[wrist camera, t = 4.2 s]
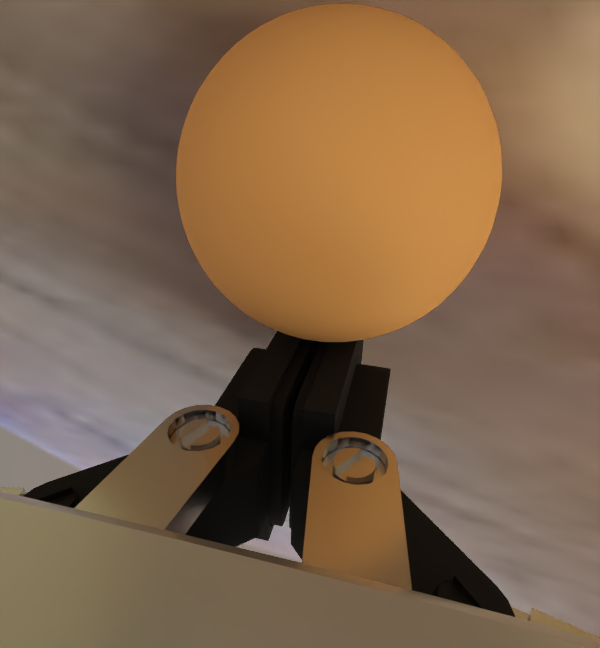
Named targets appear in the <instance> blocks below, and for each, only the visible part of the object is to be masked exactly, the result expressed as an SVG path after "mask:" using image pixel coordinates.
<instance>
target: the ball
mask: <svg viewBox="0 0 600 648" xmlns="http://www.w3.org/2000/svg"><path fill="white" fill-rule="evenodd" d="M501 184H502V159H501V144H500V139H499V134H498V129H497V124H496V121H495V119H494V116H493V113H492V110H491V108H490V105H489V102H488V100H487V97H486V94H485V93H484V91H483V89H482V87H481V85H480V84H479V82H478V80H477V78H476V77H475V75H474V74H473V73H472V71H471V70H470V69H469V67H468V66H467V65H466V64H465V62H464V61H463V60H462V58H461V57H460V56H459V55H458V53H457V52H456V51H455V50H453V49H452V48H451V47H450V46H449V45H448V44H447V43H446V42H445V41H444V40H443V39H441V38H440V37H438V36H437V35H435V34H434V33H432V32H431V31H430V30H428V29H427V28H425V27H424V26H422V25H421V24H419V23H417V22H415V21H414V20H412V19H410V18H408V17H406V16H404V15H401V14H398V13H395V12H392V11H389V10H386V9H381V8H376V7H371V6H366V5H361V4H349V3H337V4H323V5H317V6H310V7H307V8H303V9H299V10H295V11H292V12H290V13H287V14H284V15H282V16H279V17H277V18H275V19H273V20H271V21H269V22H267V23H265V24H263V25H261V26H260V27H258V28H257V29H255V30H253V31H252V32H250V33H249V34H247V35H246V36H245V37H244V38H242V39H241V40H240V41H239V42H237V43H236V44H235V45H234V46H233V47H232V48H231V49H230V50H229V51H228V52H227V53H226V54H225V55H224V56H223V57H222V58H221V59H220V61H219V62H218V63H217V64H216V65H215V67H214V68H213V69H212V70H211V72H210V73H209V74H208V76H207V77H206V79H205V81H204V82H203V84H202V85H201V87H200V88H199V90H198V92H197V94H196V96H195V98H194V100H193V102H192V104H191V106H190V109H189V111H188V114H187V117H186V120H185V123H184V126H183V129H182V133H181V138H180V142H179V146H178V154H177V164H176V186H177V199H178V205H179V211H180V215H181V219H182V223H183V226H184V229H185V233H186V236H187V239H188V242H189V244H190V246H191V248H192V250H193V252H194V254H195V256H196V258H197V260H198V261H199V263H200V265H201V267H202V268H203V270H204V271H205V273H206V274H207V276H208V277H209V278H210V280H211V281H212V283H213V284H214V285H215V286H216V287H217V288H218V289H219V290H220V291H221V292H222V294H223V295H224V296H225V297H226V298H227V299H228V300H229V301H230V302H232V303H233V304H234V305H235V306H236V307H238V308H239V309H240V310H241V311H243V312H244V313H245V314H247V315H248V316H250V317H251V318H253V319H255V320H256V321H258V322H260V323H261V324H263V325H266V326H268V327H270V328H272V329H275V330H277V331H279V332H282V333H284V334H287V335H290V336H294V337H298V338H301V339H305V340H313V341H320V342H349V341H357V340H365V339H369V338H373V337H377V336H381V335H384V334H387V333H390V332H392V331H395V330H397V329H400V328H402V327H405V326H407V325H408V324H410V323H412V322H414V321H416V320H417V319H419V318H421V317H423V316H424V315H426V314H427V313H428V312H430V311H431V310H432V309H434V308H435V307H437V306H438V305H439V304H441V303H442V302H443V301H444V300H445V299H446V298H447V297H448V296H449V295H450V294H451V293H452V292H453V291H454V290H455V289H456V288H457V287H458V286H459V284H460V283H461V282H462V281H463V279H464V278H465V277H466V276H467V274H468V273H469V272H470V270H471V269H472V267H473V266H474V264H475V262H476V260H477V259H478V257H479V255H480V254H481V252H482V250H483V249H484V247H485V244H486V242H487V240H488V237H489V235H490V232H491V230H492V228H493V224H494V220H495V216H496V212H497V208H498V204H499V200H500V194H501Z"/></svg>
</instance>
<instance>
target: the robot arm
mask: <svg viewBox="0 0 600 648" xmlns="http://www.w3.org/2000/svg"><path fill="white" fill-rule="evenodd" d="M362 350H363V340H357V341H349V342H320V341H313V340H305V339H301V338H298V337H294V336H290V335H287V334H284V333H282V332H279V331H277V333H276V334H275V336H274V338H273V339H272V341H271V343H270V344H269V346H268V348H267V349H259V348H253V349H252V350H251V351H250V353H249V354H248V356H247V357H246V359H245V360H244V362H243V363H242V365H241V366H240V368H239V369H238V371H237V373H236V374H235V376H234V377H233V379H232V380H231V382H230V383H229V385H228V386H227V388H226V389H225V391H224V393H223V394H222V396H221V397H220V399H219V400H218V402H217V403H216V405H215V406H212V405H196V406H192V407H187V408H184V409H182V410H179V411H177V412H175V413H173V414H172V415H171V416H169V417H168V418H167V419H166V420H165V421H163V422H162V423H161V424H160V425H159V426H158V427H157V428H156V429H155V430H154V431H153V432H152V433H151V434H150V435H149V436H148V437H147V438H146V439H145V440H144V441H143V442H142V443H141V444H140V445H139V446H138V447H137V448H136V449H135V450H134V451H133V452H132V453H131V454H129V455H126V456H123V457H120V458H117V459H114V460H111V461H109V462H106V463H103V464H100V465H97V466H94V467H91V468H88V469H85V470H82V471H79V472H76V473H73V474H71V475H68V476H65V477H62V478H59V479H56V480H53V481H50V482H47V483H45V484H43V485H40V486H39V487H36V488H34V489H33V490H31V491H30V492H28V493H27V494H26V492H25V489H24V487H0V648H600V637H597V636H595V635H593V634H591V633H588V632H586V631H584V630H581V629H579V628H577V627H575V626H572V625H570V624H568V623H566V622H563V621H561V620H559V619H557V618H554V617H552V616H550V615H547V614H545V613H543V612H541V611H538V610H536V609H534V608H532V609H531V611H530V614H526V613H524V612H522V611H520V610H518V609H515V608H513V607H511V606H510V604H509V601H508V600H507V598H506V597H505V596H504V595H503V593H502V592H501V591H500V590H499V588H498V587H497V586H496V585H495V584H494V583H493V582H492V581H491V580H490V579H489V578H488V577H487V576H486V575H485V574H484V573H483V572H482V571H481V570H480V569H479V568H478V567H477V566H476V565H475V564H474V563H473V562H472V561H471V560H470V559H469V558H468V557H467V556H466V555H465V554H464V553H463V552H462V551H461V550H460V549H459V548H458V547H457V546H456V545H455V544H454V543H453V542H452V541H451V540H450V539H449V538H448V537H447V536H446V535H445V534H444V533H443V532H442V531H441V530H440V529H439V528H438V527H437V526H436V525H435V524H434V523H433V522H432V521H431V520H430V519H429V518H428V517H427V516H426V515H425V514H424V513H423V512H422V511H421V510H420V509H419V508H418V507H417V506H416V505H415V504H414V503H413V502H412V501H411V500H410V499H409V498H408V497H407V496H406V495H405V494H404V493H403V492H402V491H401V490H400V481H399V473H398V464H397V461H396V458H395V454H394V453H393V452H392V450H391V449H390V448H389V447H388V445H386V444H385V443H384V442H382V441H381V433H382V426H383V419H384V412H385V405H386V398H387V391H388V384H389V377H390V369H388V368H382V367H375V366H369V365H362V364H361V359H362ZM289 506H290V518H289V527H290V528H291V544H292V546H293V547H294V549H295V550H296V552H297V553H298V555H299V556H300V558H301V559H302V563H299V562H295V561H291V560H287V559H283V558H279V557H274V556H271V555H266V554H262V553H258V552H254V551H250V550H246V549H243V543H245V542H247V541H249V540H251V539H253V538H258V539H263V540H267V541H268V540H269V537H270V535H271V532H272V529H273V526H274V525H279V526H282V525H283V524H284V521H285V518H286V515H287V512H288V509H289Z"/></svg>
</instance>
